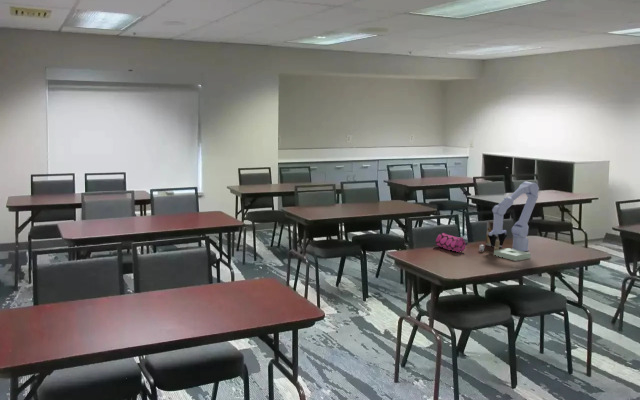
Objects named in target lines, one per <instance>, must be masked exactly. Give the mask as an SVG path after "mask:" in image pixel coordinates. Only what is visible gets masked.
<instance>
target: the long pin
mask: <svg viewBox="0 0 640 400" xmlns="http://www.w3.org/2000/svg"><path fill="white" fill-rule="evenodd" d="M499 244H500V241H499V240H496V241H495V246H494V247H493V251H494V250H500V247H499Z"/></svg>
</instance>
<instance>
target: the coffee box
mask: <svg viewBox="0 0 640 400" xmlns="http://www.w3.org/2000/svg"><path fill="white" fill-rule="evenodd" d="M493 222H494V220H490V221H486V237H485V239H486V240H485V246H487V247H488V246H489V247H491V243H490V239H489V237H488V235H489V232H491V231H492V230H493ZM494 236H497V238H496V240H499V237H498V235H494ZM502 247H503V245H502V246H501V245H499V248H502Z"/></svg>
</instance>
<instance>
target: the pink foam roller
mask: <svg viewBox="0 0 640 400" xmlns="http://www.w3.org/2000/svg"><path fill="white" fill-rule="evenodd" d="M435 244H436V246H438V247H440V248H442V247H443V249H445V250H448V251H450V250H452V251H451V252H453V251H456V252H455V253H457V252H460V251H462V252H463V251H464V250H465V249H466V247H467V246H468V242H466V241H465V240H464V237H463V236H462V237H461V236H459V237H458V236H453V235H450V234H447V233H445V232H442V233H439V234H438V235H437V237H436V239H435Z"/></svg>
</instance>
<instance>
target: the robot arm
mask: <svg viewBox="0 0 640 400" xmlns="http://www.w3.org/2000/svg"><path fill="white" fill-rule="evenodd" d="M539 190H540V187H539V186H538V183H536V182H530V181H523V182H522V183H521V184H519V186H518V188H516V190H515V191H514V192H513V193H512V194H511V195H509V196H506V197H504V198H503V200H501V201H500V202H499V203H498V204H495V205H494V206H493V207H492V209H491V211H492V213H493V221H494V222H493V230H492V231H491V232H489V235H488V237H489V239H490V243H491V246H492V247H491V246H490V247H491V248H494V246H495V241H496V238H497V236H494V235H498V237H499V241H500V244H499V245H501V246H502V247H503V244H504V241H505V239H506V238H507V236H508V234H507V230H506V229H504V215H506V213H507V210H508V209H509V208H510V207H511V206H512V205H514V201H516V200H517V199H518V198H519V197H520V196H522V195H523V194H525V195H526V199H527V200H526V201H525V203H524V206H523V209H522V211H521V214H520V216H519V218H518V220H517V221H515V223H514V225H513V226H512V227H511V229H510V231H511V233H512V249H515V250H519V251H524V252H528V251H530V250H529V239H528V237H527V236H528V235H529V229H530V226H529V225H528V223H529V220H530V218H531V215H532V212H533V210H534V208H535V205H536V203H537V201H538V197H539V194H538V192H539Z"/></svg>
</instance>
